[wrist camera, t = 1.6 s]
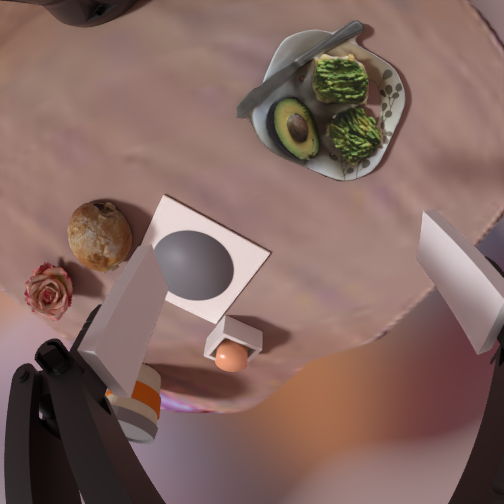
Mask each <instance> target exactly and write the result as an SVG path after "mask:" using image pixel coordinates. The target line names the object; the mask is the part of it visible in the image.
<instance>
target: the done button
mask: <svg viewBox="0 0 504 504" xmlns="http://www.w3.org/2000/svg"><path fill="white" fill-rule="evenodd" d="M247 360H248V347H247V346H245V345H242V344H240V343H237V342H235V341H233V340H230V339H225V340H222V341H221V342H220V344H219V345H218V346H217V353H216V360H215V362H216V365H217V366H218V367H219V368H221V369H222V370H225V371H229V372H237V371H241V370H243V369H245V368H246V366H247Z"/></svg>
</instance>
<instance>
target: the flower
mask: <svg viewBox="0 0 504 504" xmlns="http://www.w3.org/2000/svg"><path fill="white" fill-rule="evenodd" d="M33 272H34V276H33V278H32V277H31V278H30V280H31V282H30V281H27V282H26V283H25V284H26V286H27V289H26V291H25V296H26V297H25V300H26V301H27V304H28V305H30V306H31V308H32V312H35V313H38V314H41V315H43V316H46V317H48V318H50V319H52V320H53V321H58V320H59V319H60V318H61V317H62V315H63V314H64V313H65V312H66V310H67V308H68V307H70V306H71V305H70V304H71V301H72V299H71V298H72V294H73V288H72V282H71V278H70V277H68V276H67V273H66V272H65V271H64V269H63V268H60V267H55V266H54V265H53V266H52V265H51V264H49V263H48V262H47V263H44V265H41V266H40V268H36V269H35V270H34V271H33ZM68 300H69V301H68Z"/></svg>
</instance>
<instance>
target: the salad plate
mask: <svg viewBox="0 0 504 504" xmlns="http://www.w3.org/2000/svg"><path fill="white" fill-rule="evenodd" d="M363 31H364V26H363V24H362V23H361V22H360V21H358V20H354V21H351V22H349V23H348V24H346V25H345V26H343V27H342V28H340V29H338V30H336V31H332V32H330V31H323V30H308V31H303V32H299V33H296V34H294V35H291V36H289V37H288V38H286V39H285V40H284V41H283V42H282V43H281V45H280V46H279V47H278V49H277V51H276V52H275V54H274V56H273V59H272V61H271V64H270V66H269V68H268V70H267V72H266V75H265V78H264V81H263V83H262V85H261V86H260V87H258V88H255V89H253V90H252V91H251V92H250V93H249V94H248V95H247V96H246V97H245V98H244V99H243V100H242V102H241V103H240V104H239V105H238V107H237V118H241V119H242V118H248V119H249V120H250V122H251V123H252V125H253V127H254V130H255V132H256V134H257V136H258V138H259V139H260V141H262V143H263V144H264V145H265V146H266V147H267V148H268V149H269V150H270V151H272V152H273V153H275V154H277V155H278V156H280V157H282V158H284V159H287V160H289V161H291V162H294V163H296V164H299V165H301V166H303V167H306V168H309V169H311V170H313V171H315V172H318V173H320V174H321V175H323V176H325V177H329V178H332V179H334V180H336V181H351V180H355V179H358V178H360V177H362V176H364V175H366V174H368V173H370V172H371V171H372V170H374V169H375V167H376V166H377V165H378V164H379V162H380V161H381V159H382V157H383V155H384V153H385V151H386V149H387V146H388V144H389V142H390V140H391V137H392V135H393V133H394V130H395V128H396V126H397V125H398V123H399V119H400V117H401V115H402V112H403V109H404V106H405V101H406V100H405V91H404V87H403V84H402V82H401V80H400V77H399V75H398V73H397V71H396V69H394V68H393V67H392V66H391V65H390V64H389V63H387V62H385V61H384V60H382V59H381V58H379V57H378V56H376V55H375V54H373V53H371V52H369V51H368V50H366V49H364V48H362V47H361V46H360V45H359V44H358V43H357V42H356V38H357V37H358V36H359V35H360V34H362V33H363ZM300 76H305V77H306V78H307V80H306V81H305V82H301V81H300V80H299V77H300ZM368 79H369V80H371V81H374V82H375V83H376V86H377V88H378V90H379V94H380V100H381V111H380V112H381V113H380V117H379V120H378V123H377V126H376V125H375V123H376V120H375V118H373V117H371V116H370V117H368V116H367V115H366V113H365V112H366V111H365V110H364V109H363V108H361V107H359V106H358V105H366V104H367V99H368V94H369V81H368ZM334 115H336V118H334V119H332V117H333V116H334ZM331 153H333V154H334V155H331Z"/></svg>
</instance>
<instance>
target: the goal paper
mask: <svg viewBox="0 0 504 504" xmlns="http://www.w3.org/2000/svg"><path fill="white" fill-rule="evenodd" d="M151 244H152V247H153V249H154V252H155V255H156V258H157V260H158V263H159V266H160V268H161V271H162V273H163V276H164V279H165V281H166V284H167V286H168V289H169V290H168V293H167V295H166V298H165V300H166V301H168V302H170V303H172V304H174V305H176V306H178V307H181V308H183V309H185V310H187V311H189V312H191V313H193V314H195V315H197V316H199V317H202V318H204V319H206V320H208V321H210V322H212V323H215V324H216V323H217V321H218V320H219V319H220V318H221V316H222V315H223V314H224V312H225V311H226V310H227V309H228V307H229V306H230V305H231V304H232V302H233V301H234V300H235V298H236V297H237V296H238V295H239V293H240V292H241V291H242V289H243V288H244V287H245V285H246V284H247V283H248V282H249V280H250V279H251V278H252V276H253V275H254V274H255V273H256V271H257V270H258V269H259V267H260V266H261V265H262V263H263V262H264V261H265V260H266V258H267V257H268V256H269V254H270V252H269V251H267V250H265V249H263V248H261V247H260V246H258V245H256V244H254V243H252V242H251V241H249V240H247V239H245V238H243V237H241V236H240V235H238V234H236V233H234V232H232V231H230V230H229V229H227V228H225V227H223V226H221V225H220V224H218V223H216V222H214V221H212V220H210V219H209V218H207V217H205V216H203V215H201V214H199V213H198V212H196V211H194V210H192V209H190V208H188V207H187V206H185V205H183V204H181V203H179V202H177V201H175V200H174V199H172V198H170V197H168V196H166V195H163V197H162V199H161V201H160V204H159V206H158V208H157V210H156V212H155V214H154V216H153V219H152V221H151V223H150V225H149V228H148V230H147V232H146V234H145V237H144V239H143V241H142V244H141V246H144V245H151Z"/></svg>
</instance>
